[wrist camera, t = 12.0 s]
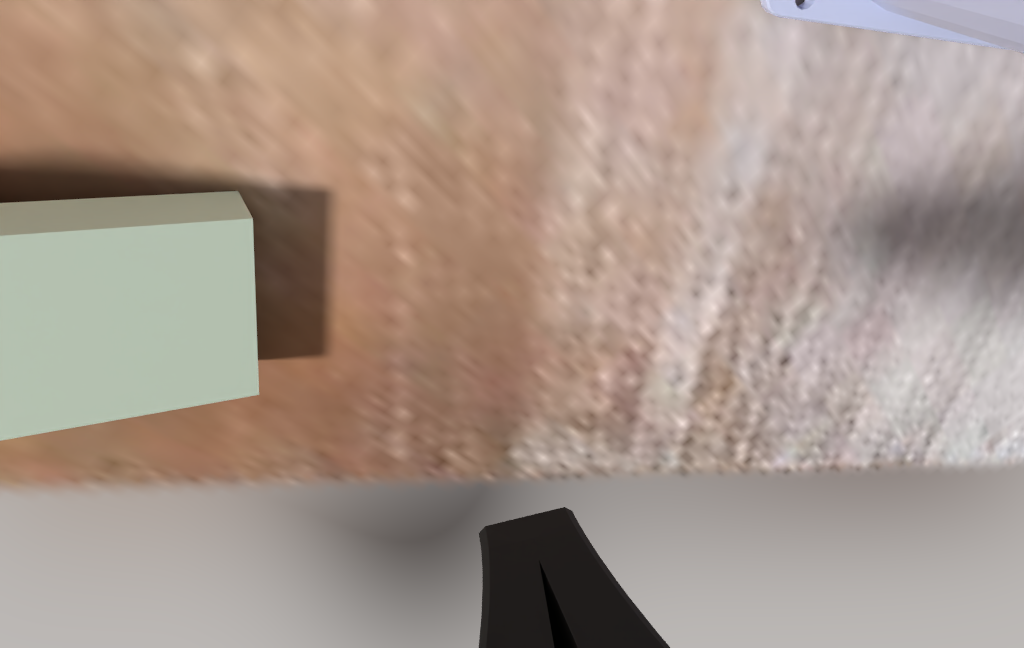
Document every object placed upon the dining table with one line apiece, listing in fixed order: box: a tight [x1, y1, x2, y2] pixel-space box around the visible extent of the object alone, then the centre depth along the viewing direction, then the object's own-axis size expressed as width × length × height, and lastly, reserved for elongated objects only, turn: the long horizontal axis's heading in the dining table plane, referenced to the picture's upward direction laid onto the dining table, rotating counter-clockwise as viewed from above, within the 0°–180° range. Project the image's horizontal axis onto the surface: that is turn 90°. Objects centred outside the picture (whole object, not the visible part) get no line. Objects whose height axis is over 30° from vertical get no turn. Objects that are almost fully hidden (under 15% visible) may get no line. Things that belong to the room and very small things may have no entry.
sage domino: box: [0, 191, 259, 441], centre depth 17 cm, size 2×5×9 cm
